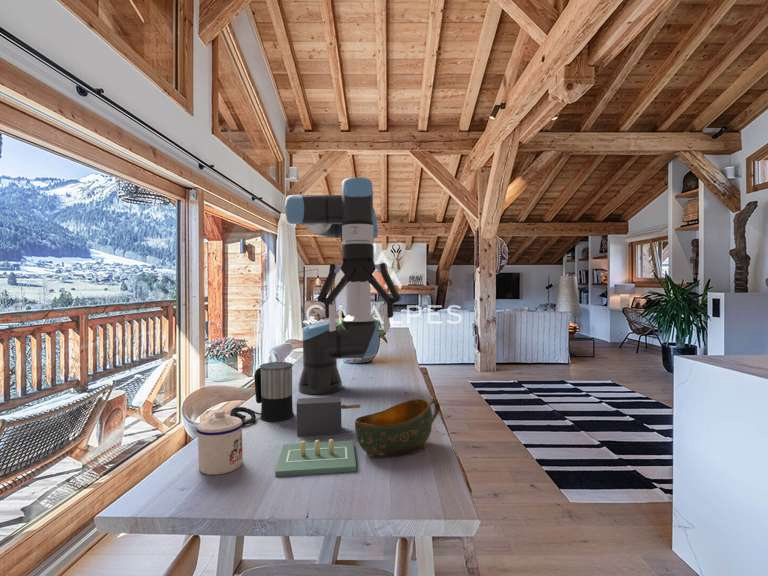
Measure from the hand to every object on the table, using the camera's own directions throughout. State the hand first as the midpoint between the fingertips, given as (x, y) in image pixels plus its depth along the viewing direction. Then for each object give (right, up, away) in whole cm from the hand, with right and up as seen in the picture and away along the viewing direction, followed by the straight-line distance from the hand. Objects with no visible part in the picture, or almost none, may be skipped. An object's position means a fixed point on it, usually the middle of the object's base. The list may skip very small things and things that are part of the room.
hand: (359, 331), depth 105 cm
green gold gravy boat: (+10, -26, -6) cm, 29 cm away
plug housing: (-8, -26, +6) cm, 28 cm away
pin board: (-8, -27, -12) cm, 30 cm away
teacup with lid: (-28, -27, -13) cm, 41 cm away
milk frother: (-28, -26, +15) cm, 41 cm away
